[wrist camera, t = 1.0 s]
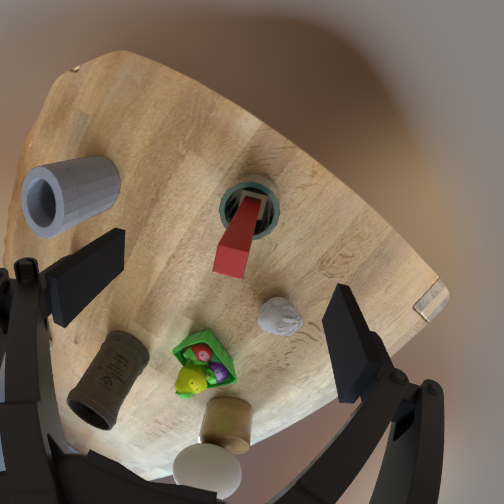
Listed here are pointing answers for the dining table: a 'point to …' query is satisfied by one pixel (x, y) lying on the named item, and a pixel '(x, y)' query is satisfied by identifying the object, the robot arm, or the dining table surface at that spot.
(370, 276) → the dining table surface
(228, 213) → the pen pot
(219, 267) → the paint brush
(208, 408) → the lamp
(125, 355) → the dark grey hollow cylinder
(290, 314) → the grey wrinkled ball
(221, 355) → the fruit basket
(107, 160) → the vase
